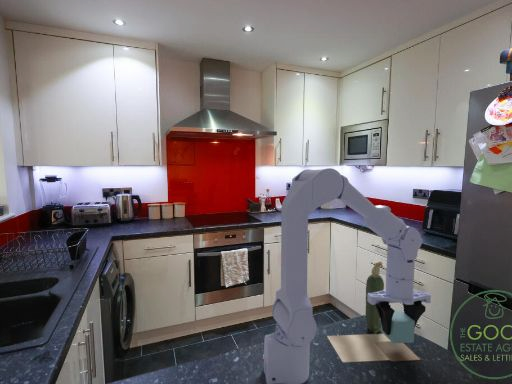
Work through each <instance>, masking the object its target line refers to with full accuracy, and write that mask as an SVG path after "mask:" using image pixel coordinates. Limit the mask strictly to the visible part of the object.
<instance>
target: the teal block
mask: <svg viewBox="0 0 512 384" xmlns="http://www.w3.org/2000/svg"><path fill="white" fill-rule="evenodd" d="M414 327H415V328H416V326H415V321H414V320H413V319H411V318H410V317H409V316H407V315H406V314H405V313H404V311H402V310H395V312H394V314H393V317H392V322H391V333H390V335H387V334H386V333H385V332H384V331H383V330H382V324H381V323H380V332H381V334H384V335H385V336H386V337H387V338H388V339H389V340H390V341H391V342H392V343H404V344H408V343H409V344H410V343H414V342H415V328H414Z"/></svg>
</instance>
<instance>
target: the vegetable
mask: <svg viewBox="0 0 512 384" xmlns="http://www.w3.org/2000/svg"><path fill="white" fill-rule="evenodd" d="M383 267H384V266H383V262H382V261H379V262H376V263H375V264H374V266H373V267H372V269H371V274H370V275H369V276H368V277H367V279H366V283H365V285H366V286H365V323H366V327H367V328H368V330H369V331H370V332H373V334H377V333H378V332H380V330H381V320H380V317H379V314H378V311H377V309H376V307H375V305H371V304H370V303H369V302H368V301H367V294H368V293H374V292H378V291H383V290H385V283H384V279H383V278H382V276H381V275H380V274H381V273H380V268H383Z"/></svg>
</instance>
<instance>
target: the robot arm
mask: <svg viewBox="0 0 512 384" xmlns="http://www.w3.org/2000/svg"><path fill="white" fill-rule="evenodd" d="M334 200H338V201H340V202H341V203H343V204H344V205H345V206H347V207H349V208H350V209H352V210H353V211H354V212H356V213H357V214H358V215H360V216H362V217H363V223H364V225H365V226H366V227H367V228H368V229H370V230H371V231H373V233H375V234H376V235H378V236H379V237H380V238H381V241H382V243H383V244H384V245H386V247H387V249H386V272H385V274H386V275H385V289H384V290H383V291H378V292H374V293H368V294H367V301H368V302H369V303H370V304H371V305H375V307H376V309H377V311H378V314H379V317H380V325H381V324H382V330H383V331H384V332H385V333H386V334H387V335H390V333H391V322H392V317H393V314H394V312H395V311H396V310H395V309H394V308H392V306H391V304H392V303H393V304H394V303H399V304H402V305H403V313H405V314H406V315H407V316H409V317H410V318H411V319H413V320H414V321H415V327H414V329H415V328H416V327H417V323H418V321H419V320H420V318H421V316H422V315H423V314H424V313H425V312H426V309H427V308H426V306H425V305H424V304H423V303H426V304H431V297H432V296H431V294H430V293H428V292H426V291H418V290H417V291H416V290H414V283H415V282H414V281H415V261H416V260H417V258H418V253H419V250H420V248H421V246H422V244H423V238H422V237H421V234H420V232H419V230H417V228H415V227H413V226H409V225H407V224H406V223H405V221H404V219H402V218H399V217H397V216H396V215H395V214H394V213H392V212H391V211H392V209H391V207H390V206H388V205H387V206H386V205H381V204H379V205H374V204H373V203H372V201H370V200H369V199H368V198H367V197H366V196H365V195H364V194H362V193H361V192H360V190H358V189H357V188H356V187H355V186H354V185H352V184H351V182H350V181H349V179H348V177H347V176H345V175H343V174H341V173H340V172H339V171H338V170H336V169H334V168H330V167H326V168H323V169H322V168H321V169H319V168H318V169H311V168H310V169H304V170H302V171H300V172H299V173H298V174H297V175H295V176H294V177H293V178H292V180H291V186H290V188H289V189H288V192H287V193H286V195H285V197H284V199H283V200H282V203H281V213H280V215H281V218H280V219H281V223H280V224H281V225H280V227H281V229H280V231H281V233H280V234H281V235H280V236H281V237H280V238H281V239H280V242H281V245H280V246H281V247H280V253H281V254H280V288H279V289H278V290H276V292H275V300H274V303H273V304H272V308H271V315H272V317H273V320H274V321H275V322H276V327H275V332H272V333H268V334H265V335H264V338H263V339H264V342H263V349H264V350H263V365H262V366H263V373H264V376H265V382H266V384H305V382H306V381H308V379H309V378H310V353H311V348H310V347H311V342H312V341H313V340H314V338H315V336H316V334H317V329H318V328H317V327H318V326H317V322H316V320H315V317H314V315H313V311H314V309H313V305H312V302H311V300H310V297H309V295H308V251H309V250H308V246H309V245H308V243H309V242H308V241H309V238H308V234H309V230H308V229H309V216H310V215H312V213H314V211H315V210H317V209H318V208H319V207H321V206H323V205H325V204H327V203H330V202H332V201H334Z"/></svg>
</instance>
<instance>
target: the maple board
mask: <svg viewBox="0 0 512 384" xmlns="http://www.w3.org/2000/svg"><path fill="white" fill-rule="evenodd" d="M326 337H327V339H328V341H329V342H330V344H331V345H332V347H333V349H334V350H335V352H336V354H337V355H338V357H339V359H340V360H341V362H342V363H358V362H359V363H360V362H380V361H383V362H384V361H390V362H403V361H404V362H406V361H407V362H411V361H421V358H420V357H419V356H417V355H416V354H415V352H414V351H412V350H411V349H410V348H409V346H407V345H406V343H392V342H391V341H390V340H389V339H388V338H387V337H386V336H385V335H384V334H383V333H369V334H367V333H365V334H346V335H345V334H342V335H341V334H340V335H327V336H326Z"/></svg>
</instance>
